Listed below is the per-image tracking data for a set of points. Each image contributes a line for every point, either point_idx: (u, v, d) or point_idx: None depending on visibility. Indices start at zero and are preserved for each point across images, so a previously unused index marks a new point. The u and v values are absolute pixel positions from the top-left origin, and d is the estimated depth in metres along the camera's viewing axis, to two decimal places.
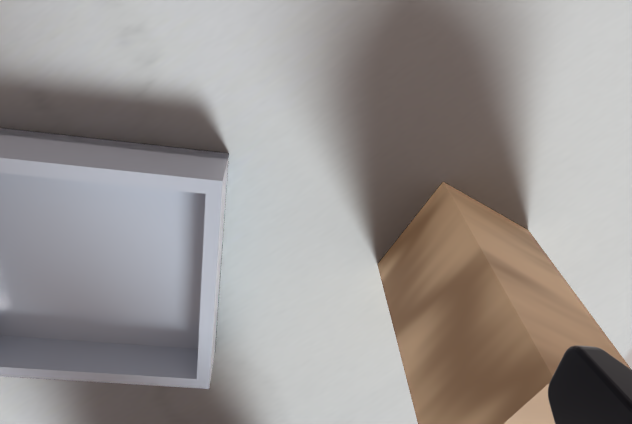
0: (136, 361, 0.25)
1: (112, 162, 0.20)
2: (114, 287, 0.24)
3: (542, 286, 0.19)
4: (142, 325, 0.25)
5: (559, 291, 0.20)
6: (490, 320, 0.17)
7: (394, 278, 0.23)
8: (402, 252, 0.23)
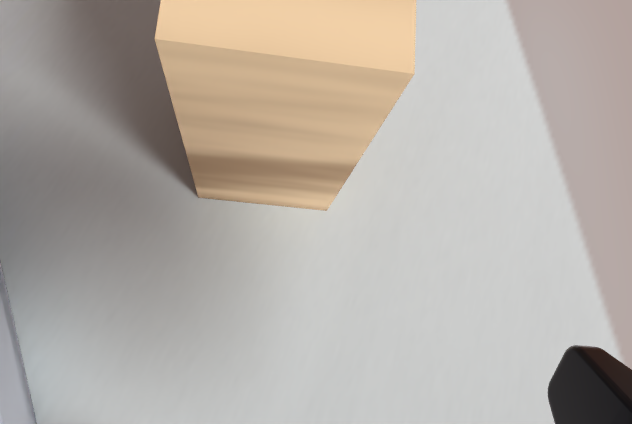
0: None
1: None
2: None
3: None
4: None
5: None
6: None
7: None
8: None
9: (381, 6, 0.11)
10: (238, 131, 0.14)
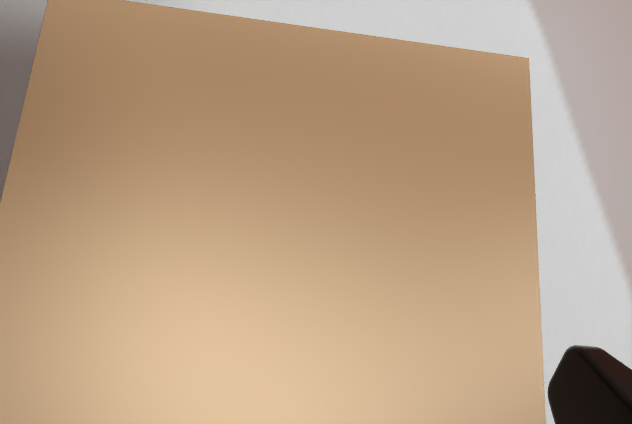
0: None
1: None
2: None
3: None
4: None
5: None
6: None
7: None
8: None
9: (469, 399, 0.05)
10: None
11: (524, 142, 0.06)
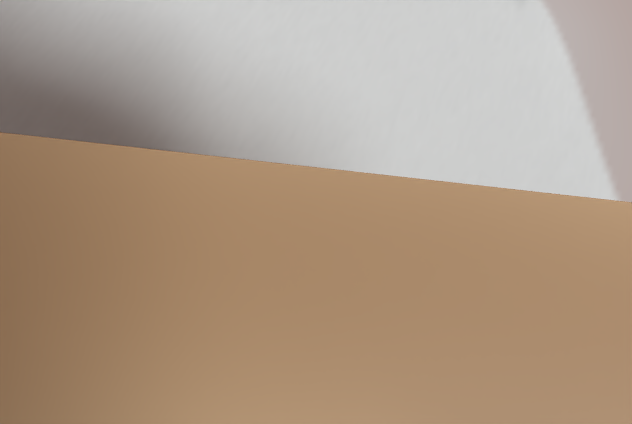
0: None
1: None
2: None
3: None
4: None
5: None
6: None
7: None
8: None
9: None
10: None
11: None
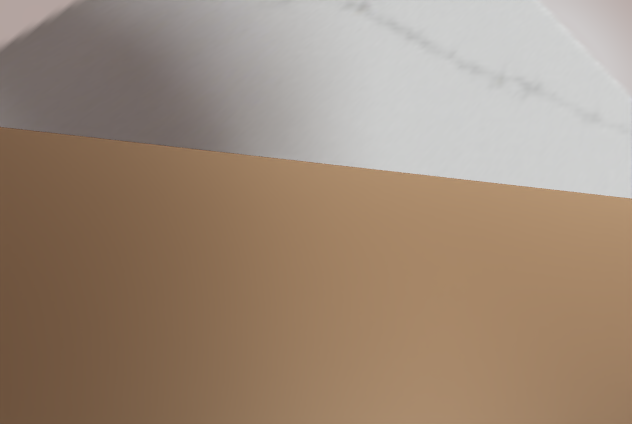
0: None
1: None
2: None
3: None
4: None
5: None
6: None
7: None
8: None
9: None
10: None
11: None
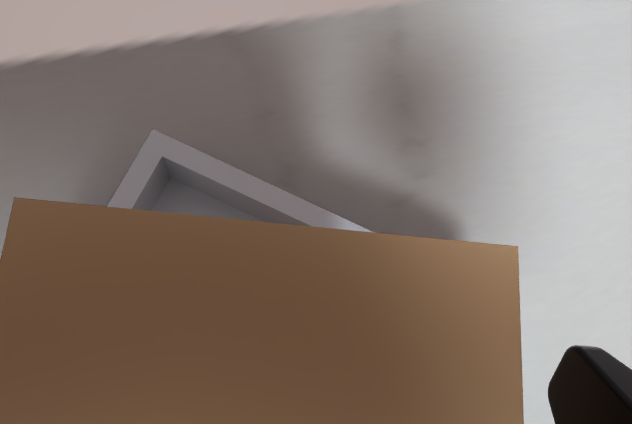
0: None
1: None
2: None
3: None
4: None
5: None
6: None
7: None
8: None
9: None
10: None
11: (513, 339, 0.05)
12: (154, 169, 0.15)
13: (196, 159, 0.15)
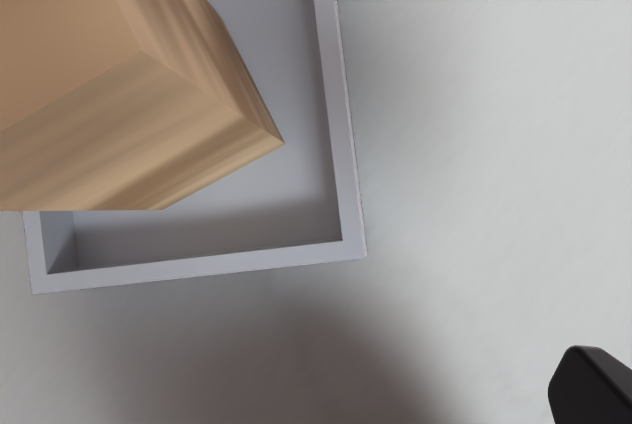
0: (256, 249, 0.17)
1: None
2: None
3: None
4: (261, 210, 0.19)
5: None
6: None
7: None
8: None
9: None
10: (91, 179, 0.12)
11: None
12: None
13: None
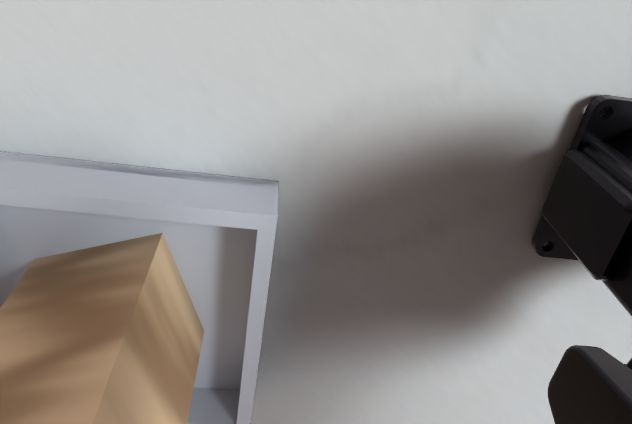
0: (251, 283, 0.20)
1: None
2: None
3: None
4: (219, 262, 0.21)
5: None
6: None
7: None
8: None
9: None
10: None
11: None
12: None
13: None
